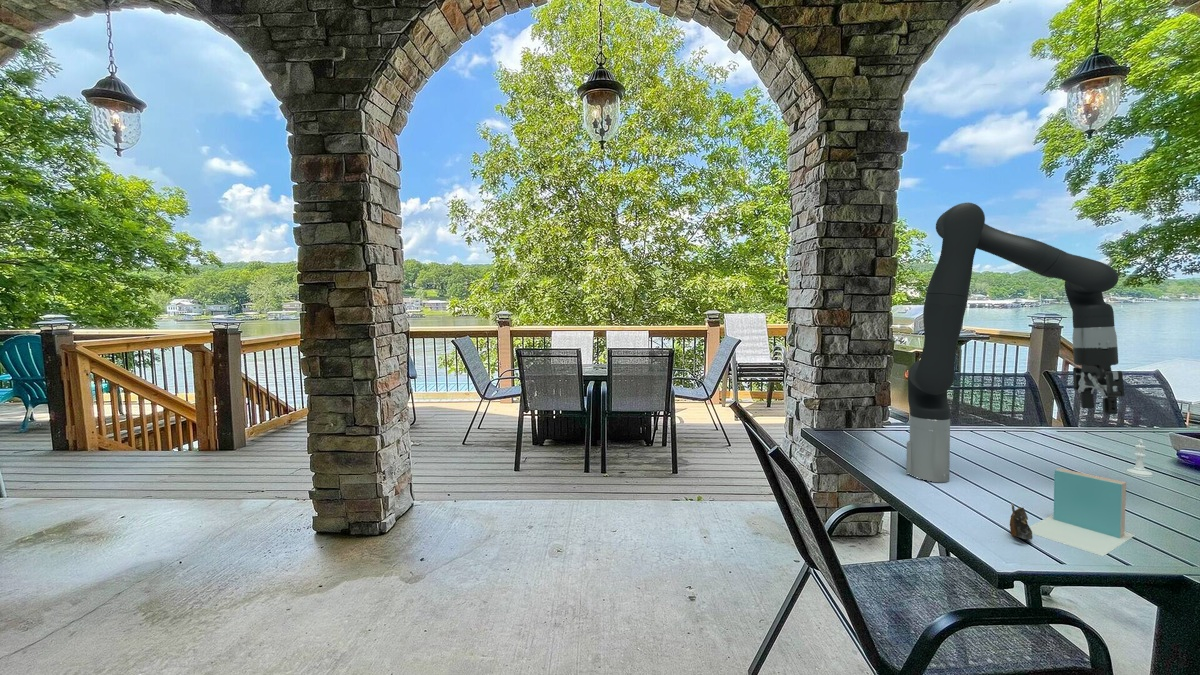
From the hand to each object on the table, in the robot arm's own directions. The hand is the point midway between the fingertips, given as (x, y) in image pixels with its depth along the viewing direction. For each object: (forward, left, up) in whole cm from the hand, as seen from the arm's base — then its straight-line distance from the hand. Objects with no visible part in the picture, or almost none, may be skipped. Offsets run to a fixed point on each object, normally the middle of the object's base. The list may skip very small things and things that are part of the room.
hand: (1098, 411), depth 114 cm
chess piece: (+5, +30, -22) cm, 37 cm away
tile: (+1, -27, -21) cm, 34 cm away
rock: (-6, -45, -22) cm, 50 cm away
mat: (0, -32, -21) cm, 38 cm away
